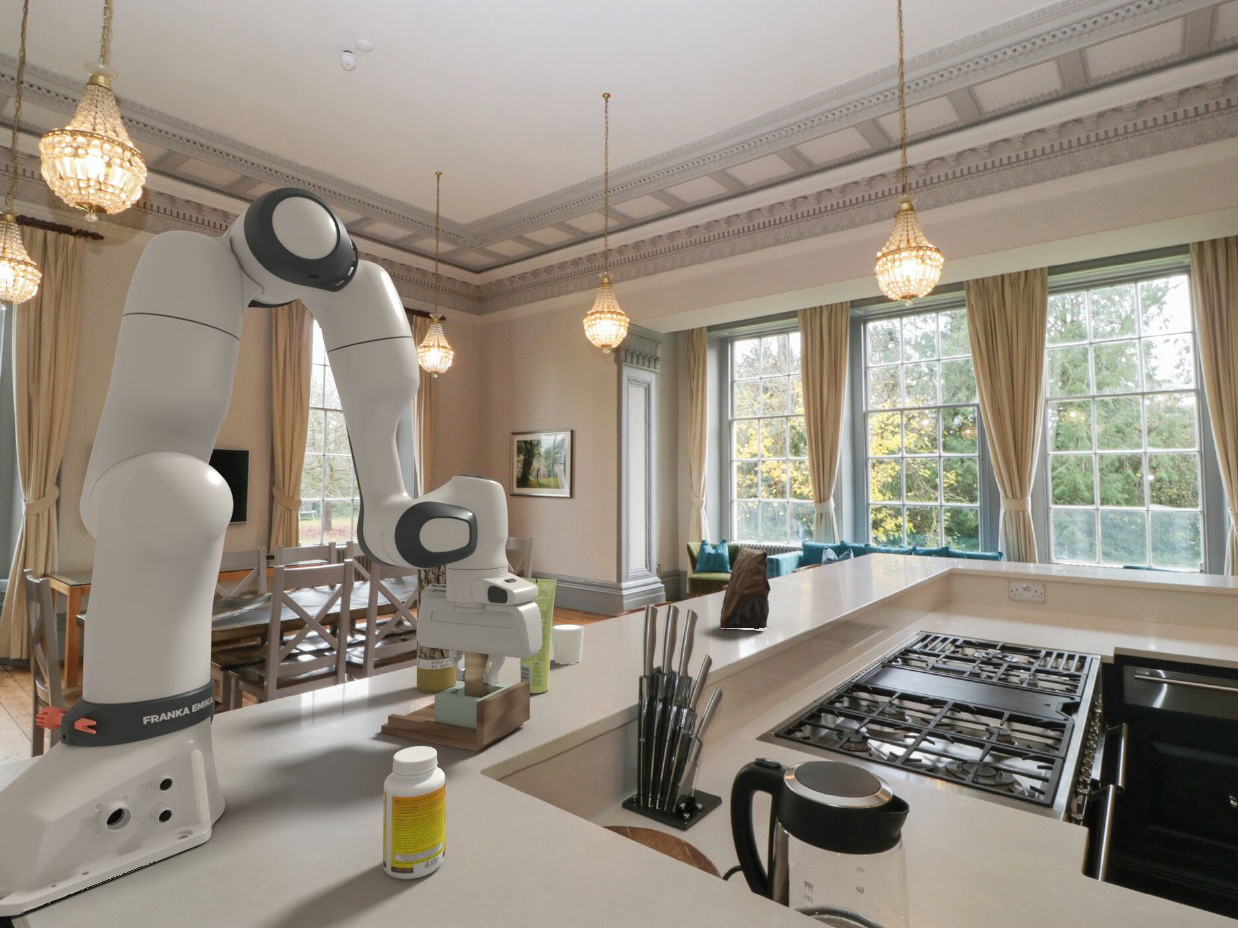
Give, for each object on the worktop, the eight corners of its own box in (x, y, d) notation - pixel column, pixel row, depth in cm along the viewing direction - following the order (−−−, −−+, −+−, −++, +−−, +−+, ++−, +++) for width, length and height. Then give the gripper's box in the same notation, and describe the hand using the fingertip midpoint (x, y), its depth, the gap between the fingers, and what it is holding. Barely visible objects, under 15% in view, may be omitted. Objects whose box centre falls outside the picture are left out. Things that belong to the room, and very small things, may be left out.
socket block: (482, 739, 90) (482, 702, 90) (434, 730, 94) (434, 694, 94) (517, 720, 98) (517, 685, 98) (471, 712, 101) (471, 679, 101)
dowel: (479, 713, 93) (479, 648, 94) (459, 709, 95) (459, 646, 95) (494, 705, 97) (494, 643, 97) (474, 702, 98) (474, 641, 99)
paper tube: (461, 682, 121) (462, 545, 122) (448, 694, 114) (448, 548, 115) (425, 681, 121) (426, 545, 122) (410, 693, 115) (411, 548, 116)
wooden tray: (483, 752, 88) (483, 703, 88) (381, 732, 96) (381, 687, 96) (529, 725, 98) (529, 681, 99) (433, 709, 106) (433, 668, 106)
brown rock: (736, 620, 178) (735, 545, 179) (782, 625, 171) (781, 547, 172) (717, 628, 167) (716, 549, 168) (765, 634, 160) (764, 551, 161)
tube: (545, 684, 120) (545, 575, 121) (557, 691, 115) (557, 578, 116) (515, 688, 117) (515, 577, 118) (526, 696, 112) (527, 580, 113)
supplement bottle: (456, 864, 62) (457, 752, 62) (402, 890, 58) (403, 771, 58) (425, 842, 66) (425, 738, 66) (371, 866, 62) (372, 754, 62)
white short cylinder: (547, 658, 138) (547, 624, 139) (579, 655, 140) (579, 622, 141) (554, 666, 132) (554, 631, 132) (588, 663, 134) (588, 628, 134)
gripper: (407, 585, 98) (406, 679, 97) (523, 593, 89) (523, 697, 89) (435, 580, 104) (435, 669, 103) (547, 587, 95) (548, 684, 94)
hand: (477, 682), depth 96 cm, fingers closed on dowel, 3 cm apart
